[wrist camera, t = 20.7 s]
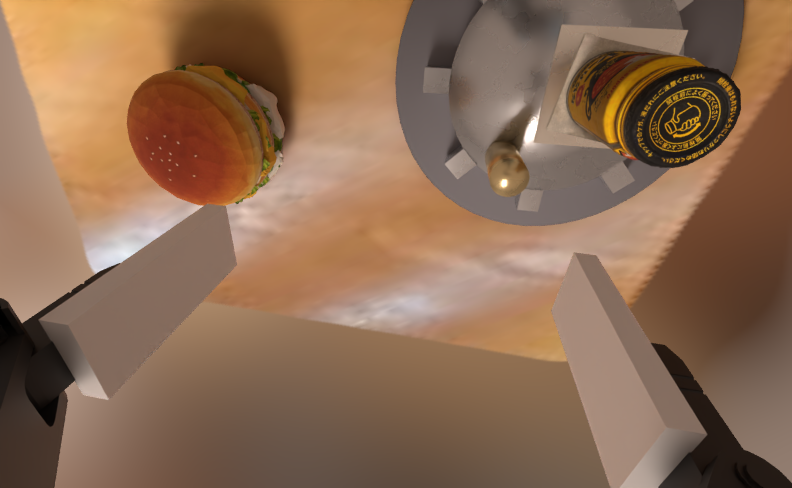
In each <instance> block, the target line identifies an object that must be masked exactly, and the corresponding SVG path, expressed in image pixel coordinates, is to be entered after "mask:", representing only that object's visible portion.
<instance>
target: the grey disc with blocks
mask: <svg viewBox="0 0 792 488" xmlns="http://www.w3.org/2000/svg"><path fill="white" fill-rule="evenodd" d="M692 1H694V0H479V2H480V3H481V5H482V6H481V8H480V9H479V10H478V12H477V13H476V15H475V16H474V17H473V19H472V20H471V22H470V23H469V25H468V27H467V29H466V31H465V32H464V34H463V36H462V38H461V41H460V43H459V45H458V48H457V50H456V54H455V57H454V61H453V64H452V67H444V66H427V65H426V67H425V71H424V85H423V93H437V94H449V106H450V114H451V119H452V123H453V126H454V129H455V132H456V135H457V137H458V139H459V141H460V143H461V145H460V146H459V147H458V148H457V149H455V150H454V151H453V152H452V153H450V154H449V155H448V156H447V157H445V165H446V166H447V168H448V169H449V170H450V171H451V172H452V174H453V175H454V176H455V177H456V178H457V179H459V178H460V177H461V176H463V175H464V174H465V173H467V172H468V171H469V170H470V169H472V168H473V167H474V166H476V165H477V166H478V167H480V168H481V169H482V170H483V171H484V172H486V173H487V174H488V177H489V182H490V186H491V188H492V190H493V191H494V192H495V193H496V194H498V195H500V196H503V197H512V196H516V197H515V201H514V202H515V205H516V208H517V210H525V211H535V212H538V209H539V206H540V202H541V198H542V194H543V191H544V190H556V189H562V188H568V187H572V186H576V185H579V184H582V183H585V182H588V181H590V180H592V179H595V178H597V177H600V178H601V180H602V181H603V183H604V184H605V186H606V187H607V188H608V189H609V190H610V191H611V192H612V193H615V192H617V191H618V190H620V189H622V188H623V187H625V186H627V185H628V184H630V183H632V182H633V181H635V180H634V178H633V177H632V175H631V174H630V172H629V171H628V169H627V167H626V166H625V164H624V163H623V161H625V160H626V159H627V158H626V157H623V156H621V155H619V154H617V153H616V152H614V151H613V150H612V149H611V148H609V147H608V146H607V145H605V144H604V143H601V142H597V141H593V140H589V139H585V138H581V137H576V136H572V135H568V134H563V133H559V132H554V131H550V130H547V127H548V125H549V122H550V120H551V117H552V115H553V113H554V110H555V107H556V104H557V102H558V99H559V97H560V94H561V92H562V89H563V87H564V84H565V82H566V79H567V77H568V74H569V72H570V69H571V67H572V65H573V62H574V60H575V58H576V55H577V52H578V51H579V48H580V46H581V43H582V41H583V38H584V36H585V34H587V35H592V36H596V37H601V38H605V39H609V40H614V41H618V42H623V43H627V44H632V45H636V46H641V47H646V48H650V49H655V50H659V51H663V52H668V53H673V54H677V55H682V56H684V40H685V38H686V35H687V32H688V30H683V27H682V22H681V18H680V13H679V11H681V10H682V9H683V8H685V7H686V6H687V5H688V4H690V3H691V2H692Z"/></svg>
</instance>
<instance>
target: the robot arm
mask: <svg viewBox="0 0 792 488" xmlns="http://www.w3.org/2000/svg"><path fill="white" fill-rule="evenodd" d="M236 265H237V262H236V256H235V251H234V246H233V241H232V236H231V230H230V225H229V220H228V215H227V210H226V206H220V205H213V204H206V205H205V206H203V207H202V208H200V209H199V210H198V211H196V212H195V213H193V214H192V215H190V216H189V217H187V218H186V219H184V220H183V221H182V222H180V223H179V224H177V225H176V226H174V227H173V228H171V229H170V230H168V231H167V232H166V233H164V234H163V235H161V236H160V237H158V238H157V239H155V240H154V241H152V242H151V243H150V244H148V245H147V246H145V247H144V248H142V249H141V250H139V251H138V252H136V253H135V254H133V255H132V256H131V257H129V258H128V259H126V260H125V261H123V262H122V263H118V264H116V265H114V266H111V267H109V268H107V269H104V270H102V271H100V272H98V273H97V274H95V275H94V276H92V277H91V278H89V279H88V280H86V281H85V283H84V284H80V285H79V286H77V287H76V288H74V289H73V290H72V292H71V293H69V292H68V293H67V294H65V295H64V296H62V297H61V298H59V299H58V300H56V301H55V302H53V303H52V304H50V305H49V306H47V307H46V308H44V309H43V310H41V311H40V312H39V313H37V314H36V315H34V316H32V317H31V318H29V319H28V320H27V321H25V322H24V323H21V322H20V320H19V318H18V317H17V315H16V314H15V312H14V311H13V309H12V307H11V306H10V304H9V303H8V302H7V301H6V300H4V299H2V298H0V488H54V486H55V479H56V473H57V467H58V460H59V454H60V447H61V441H62V435H63V428H64V422H65V415H66V408H67V402H68V400H67V395H66V393H65V391H64V390H65V389H66V388H67V387H68V386H69V385H70V384H71V383H73V382H74V381H75V382H76V384H77V385H78V387H79V389H80V391H81V392H82V394H83V395H85V396H91V397H96V398H102V399H107V400H109V399H110V398H111V397H112V396H113V395H114V394H115V393H116V392H117V391H118V390H119V389H120V388H121V387H122V386H123V385H124V384H125V382H126V381H127V380H128V379H129V378H130V377H131V376H132V375H133V374H134V373H135V372H136V371H137V369H139V368H140V367H141V366H142V365H143V363H144V362H145V361H146V360H147V359H148V358H149V357H150V356H151V355H152V354H153V353H154V352H155V351H156V350H157V349H158V348H159V347H160V346H161V344H162V343H163V342H164V341H165V340H166V339H167V338H168V337H169V336H170V335H171V334H172V333H173V332H174V330H176V329H177V328H178V326H179V325H180V324H181V323H182V322H183V321H184V320H185V319H186V318H187V317H188V316H189V315H190V314H191V313H192V312H193V311H194V309H196V307H197V306H198V305H199V304H200V303H201V302H202V301H203V300H204V299H205V298H206V297H207V296H208V295H209V294H210V293H211V292H212V291H213V290H214V289H215V287H216V286H217V285H218V284H219V283H220V282H221V281H222V280H223V279H224V278H225V277H226V276H227V275H228V274H229V273H230V272H231V271H232V270H233V268H234V267H235V266H236ZM551 312H552V315H553V318H554V321H555V324H556V327H557V330H558V333H559V336H560V339H561V342H562V345H563V348H564V351H565V354H566V357H567V360H568V362H569V365H570V368H571V371H572V374H573V377H574V380H575V383H576V386H577V389H578V392H579V395H580V398H581V401H582V404H583V407H584V410H585V413H586V416H587V419H588V422H589V425H590V428H591V431H592V434H593V437H594V440H595V443H596V446H597V449H598V452H599V455H600V458H601V461H602V464H603V467H604V470H605V472H606V475H607V478H608V482H609V484H610V488H792V483H791V482H790V481H789V480H788V479H787V478H786V477H785V476H784V475H783V474H782V473H781V472H780V471H779V470H778V469H777V468H775V467H774V466H772V465H771V464H770V463H768V462H767V461H766V460H764V459H762V458H761V457H759V456H757V455H755V454H753V453H751V452H748V451H745V450H743V448H742V447H741V445H740V444H739V443H738V441H737V439H736V438H735V437H734V435H733V434H732V432H731V431H730V429H729V428H728V426H727V425H726V423H725V422H724V420H723V419H722V418H721V416H720V415H719V413H718V412H717V410H716V409H715V407H714V406H713V404H712V403H711V402H710V400H709V399H708V397H707V396H706V395H704V394H703V390H702V388H701V387H700V385H699V384H698V383H697V381H696V380H694V377H693V375H692V374H691V372H690V371H689V369H688V368H687V366H686V365H685V364H684V362H683V361H682V360H681V359H680V358H679V357H678V356H677V355H676V354H674V353H673V352H672V351H671V350H670V349H669V348H668V347H667V346H665V345H661V344H654V343H650V341H649V340H648V338H647V336H646V335H645V333H644V332H643V330H642V329H641V327H640V325H639V324H638V322H637V320H636V319H635V317H634V316H633V314H632V312H631V311H630V309H629V307H628V306H627V304H626V303H625V301H624V299H623V298H622V296H621V295H620V293H619V291H618V290H617V288H616V286H615V285H614V283H613V282H612V280H611V278H610V277H609V275H608V274H607V272H606V270H605V269H604V267H603V266H602V264H601V262H600V261H599V259H598V258H597V256H596V255H589V254H581V253H574V254H573V256H572V259H571V261H570V264H569V267H568V269H567V272H566V274H565V277H564V280H563V282H562V285H561V287H560V290H559V292H558V295H557V298H556V300H555V303H554V305H553V308H552V310H551Z"/></svg>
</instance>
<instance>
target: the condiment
mask: <svg viewBox="0 0 792 488" xmlns="http://www.w3.org/2000/svg"><path fill="white" fill-rule="evenodd" d="M740 95H741V94H740V89H738V88H737V86H736V85H735V83H734V81H732V80H731V78H730V77H729V76H728V75H727V74H726V73H723V72H721V71H719V69H714V68H708V67H707V66H704V65H702V64H701V63H700V62H699V61H697V60H696V59H695V58H691V57H686V56H682V55H677V54H673V53H668V52H663V51H659V50H655V49H650V48H646V47H641V46H636V45H632V44H627V43H623V42H618V41H614V40H609V39H605V38H601V37H596V36H592V35H587V34H585V36H584V38H583V41H582V43H581V46H580V48H579V51H578V52H577V55H576V58H575V60H574V62H573V65H572V67H571V69H570V72H569V74H568V77H567V79H566V82H565V84H564V87H563V89H562V92H561V94H560V97H559V99H558V102H557V104H556V107H555V110H554V113H553V115H552V117H551V120H550V122H549V125H548V127H547V130H550V131H554V132H559V133H563V134H568V135H572V136H576V137H581V138H585V139H589V140H593V141H597V142H601V143H604V144H605V145H607V146H608V147H609V148H611V149H612V150H613V151H614V152H616V153H617V154H619V155H621V156H623V157H626V158H629V159H633V160H640V161H641V162H643V163H645V164H648V165H650V166H654V167H659V168H675V167H681V166H685V165H688V164H690V163H693V162H694V161H696V160H698V159H700V158H702V157H704V156H705V155H707V154H708V153H710V152H711V151H713V150H714V149H716V148H717V147H719V146H720V145H721V143H722V142H723V141H724V140H725V139H726V138H727V136H728V135H729V133H730V132H731V130H732V129H733V128H734V126H735V124H736V122H737V119H738V116H739V115H740V110H741V98H740Z"/></svg>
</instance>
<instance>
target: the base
mask: <svg viewBox="0 0 792 488" xmlns="http://www.w3.org/2000/svg"><path fill="white" fill-rule="evenodd" d="M481 6H482V5H481V3H480V2H479V0H414V1H413V3H412V6H411V8H410V10H409V13H408V15H407V19H406V22H405V25H404V29H403V32H402V36H401V40H400V45H399V51H398V57H397V66H396V99H397V107H398V113H399V118H400V123H401V126H402V130H403V133H404V136H405V139H406V142H407V144H408V146H409V148H410V150H411V153H412V155H413V157H414V159H415V160H416V162H417V163H418V165H419V166H420V168H421V170H422V171H423V173H424V174H425V175H426V176H427V177H428V179H429V180H430V181H431V182H432V183H433V185H434V186H435V187H437V188H438V189H439V190H440V191H441V192H442V193H443V194H444V195H445V196H446V197H448V198H449V199H451V200H452V201H453V202H455V203H456V204H458V205H459V206H461V207H463V208H465V209H466V210H468V211H470V212H472V213H474V214H477V215H479V216H482V217H484V218H487V219H490V220H494V221H498V222H502V223H506V224H514V225H522V226H545V225H555V224H562V223H567V222H571V221H576V220H580V219H583V218H586V217H589V216H593V215H596V214H598V213H601V212H603V211H605V210H608V209H610V208H612V207H614V206H617V205H618V204H620V203H622V202H624V201H626V200H627V199H629V198H631V197H633V196H635V195H636V194H637V193H639V192H640V191H642V190H643V189H645V188H646V187H648V186H649V185H650V184H652V183H653V182H654V181H656V180H657V179H658V178H659V177H660V176H662V175H663V174H664V173H665V172H666V171H667V170H669V169H670V168H659V167H654V166H650V165H648V164H645V163H643V162H641V161H640V160H633V159H629V158H627V159H626V160H625V161H623V163H624V164H625V166H626V167H627V169H628V171H629V172H630V174H631V175H632V177H633V178H634V180H635V181H633V182H632V183H630V184H628V185H627V186H625V187H623V188H622V189H620V190H618V191H617V192H615V193H612V192H611V191H610V190H609V189H608V188H607V187H606V186H605V184H604V183H603V181H602V180H601V178H600V177H597V178H595V179H592V180H590V181H588V182H585V183H582V184H579V185H576V186H572V187H568V188H562V189H556V190H544V191H543V194H542V198H541V202H540V206H539V209H538V212H535V211H525V210H517V208H516V205H515V202H514V201H515V197H516V196H512V197H503V196H500V195H498V194H496V193H495V192H494V191H493V190H492V188H491V186H490V182H489V177H488V174H487V173H486V172H484V171H483V170H482V169H481V168H480V167H478V166H477V165H476V166H474V167H473V168H472V169H470V170H469V171H468V172H467V173H465V174H464V175H463V176H461V177H460V178H459V179H457V178H456V177H455V176H454V175H453V174H452V172H451V171H450V170H449V169H448V168H447V166H446V165H445V157H447V156H448V155H449V154H450V153H452V152H453V151H454V150H455V149H457V148H458V147H459V146H460V145H461V143H460V141H459V139H458V137H457V135H456V132H455V129H454V126H453V123H452V119H451V114H450V106H449V94H437V93H423V85H424V71H425V67H426V65H427V66H444V67H452V64H453V61H454V57H455V54H456V50H457V48H458V45H459V43H460V41H461V38H462V36H463V34H464V32H465V31H466V29H467V27H468V25H469V23H470V22H471V20H472V19H473V17H474V16H475V15H476V13H477V12H478V10H479V9H480V8H481ZM679 13H680V18H681V22H682V27H683V30H688V32H687V35H686V38H685V40H684V56H686V57H691V58H695V59H696V60H697V61H699V62H700V63H701V64H702V65H704V66H707V67H708V68H714V69H719V71H721V72H723V73H726V74H727V75H728V76H729V77H730V78H731V75H732V72H733V70H734V67H735V64H736V60H737V56H738V51H739V47H740V43H741V38H742V28H743V18H744V0H694V1H692V2H691V3H690V4H688V5H687V6H686V7H685V8H683V9H682V10H681V11H679Z"/></svg>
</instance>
